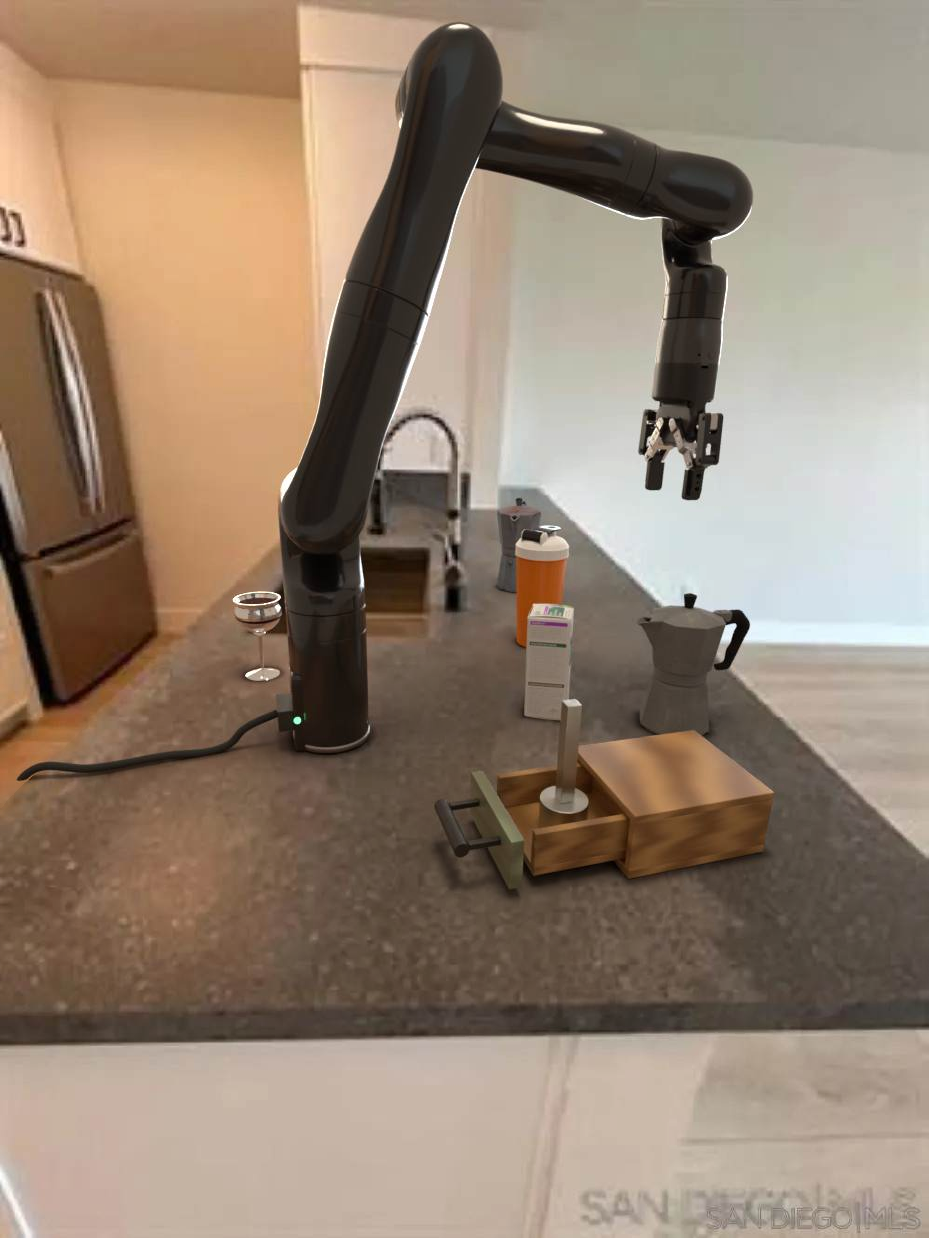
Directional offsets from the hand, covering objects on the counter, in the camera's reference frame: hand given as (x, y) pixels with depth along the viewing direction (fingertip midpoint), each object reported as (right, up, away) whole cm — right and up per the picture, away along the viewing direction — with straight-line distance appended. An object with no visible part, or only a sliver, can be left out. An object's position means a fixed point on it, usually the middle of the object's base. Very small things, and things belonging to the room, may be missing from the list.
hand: (670, 494), depth 87 cm
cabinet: (-7, -37, -19) cm, 42 cm away
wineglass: (-57, -25, +15) cm, 64 cm away
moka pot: (-15, -9, +63) cm, 66 cm away
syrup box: (-16, -29, +5) cm, 33 cm away
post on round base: (-17, -36, -23) cm, 46 cm away
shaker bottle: (-14, -20, +30) cm, 39 cm away
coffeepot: (+2, -30, +2) cm, 30 cm away
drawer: (-20, -37, -23) cm, 48 cm away
